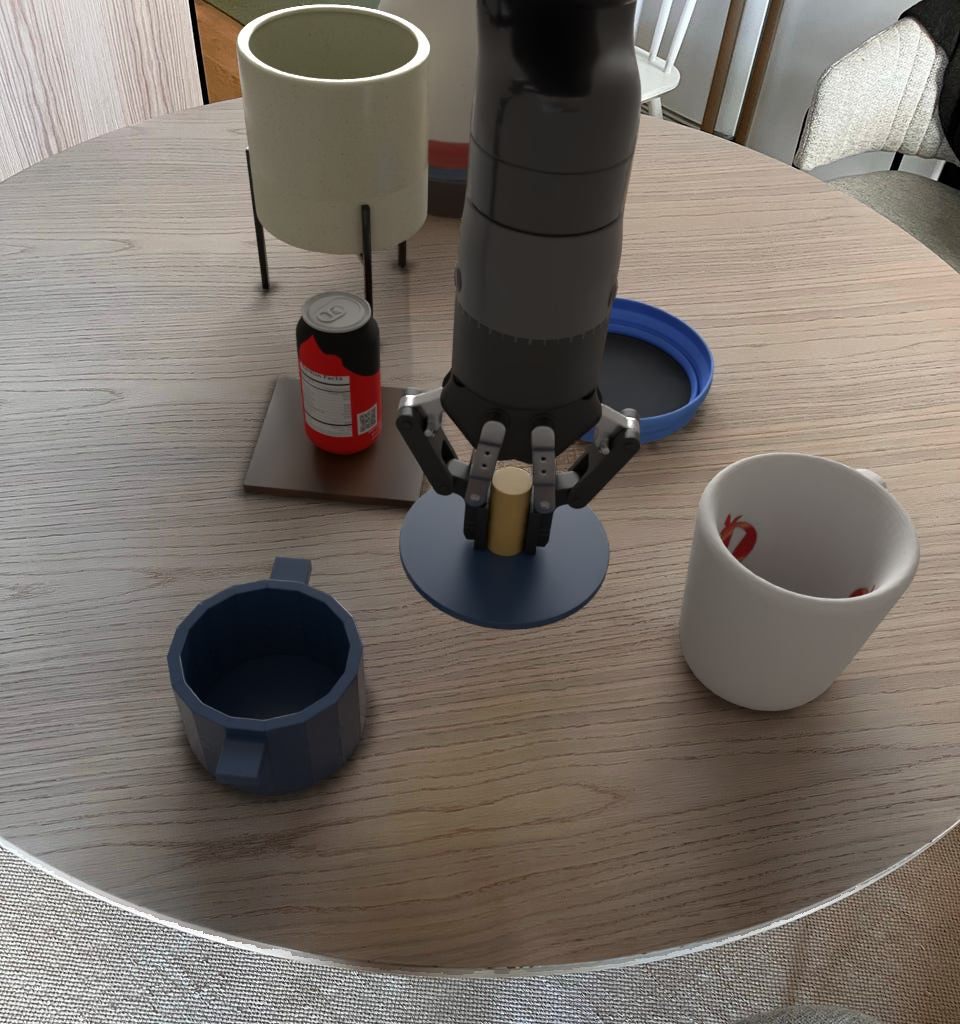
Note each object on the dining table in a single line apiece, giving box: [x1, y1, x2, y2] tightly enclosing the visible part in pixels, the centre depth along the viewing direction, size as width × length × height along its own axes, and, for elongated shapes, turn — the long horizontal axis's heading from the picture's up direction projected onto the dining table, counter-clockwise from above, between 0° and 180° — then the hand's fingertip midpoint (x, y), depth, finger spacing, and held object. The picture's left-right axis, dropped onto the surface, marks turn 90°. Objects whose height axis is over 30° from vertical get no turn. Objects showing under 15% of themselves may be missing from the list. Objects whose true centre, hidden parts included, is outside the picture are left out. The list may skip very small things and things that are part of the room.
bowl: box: [579, 296, 715, 445], centre depth 91 cm, size 18×18×4 cm
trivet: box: [242, 375, 428, 509], centre depth 85 cm, size 14×14×1 cm
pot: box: [166, 555, 367, 795], centre depth 65 cm, size 12×17×7 cm
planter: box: [235, 4, 430, 317], centre depth 89 cm, size 15×16×23 cm
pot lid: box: [398, 466, 611, 631], centre depth 60 cm, size 13×13×6 cm
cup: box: [678, 451, 921, 712], centre depth 69 cm, size 18×14×14 cm
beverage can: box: [294, 290, 382, 455], centre depth 80 cm, size 6×6×12 cm
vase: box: [377, 0, 478, 220], centre depth 103 cm, size 17×17×24 cm
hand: (504, 540), depth 61 cm, fingers closed on pot lid, 2 cm apart
